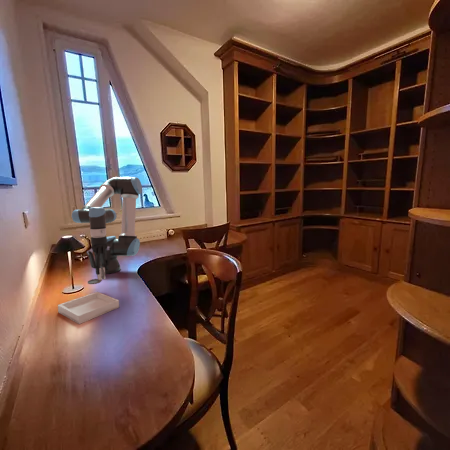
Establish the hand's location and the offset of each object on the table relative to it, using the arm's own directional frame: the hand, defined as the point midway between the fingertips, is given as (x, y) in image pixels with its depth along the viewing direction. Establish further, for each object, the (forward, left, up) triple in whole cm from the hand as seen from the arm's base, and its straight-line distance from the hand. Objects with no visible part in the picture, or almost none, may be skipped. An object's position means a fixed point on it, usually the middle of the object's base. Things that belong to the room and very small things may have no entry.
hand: (101, 279), depth 136 cm
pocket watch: (+2, 0, -1) cm, 3 cm away
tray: (+16, +17, -6) cm, 24 cm away
